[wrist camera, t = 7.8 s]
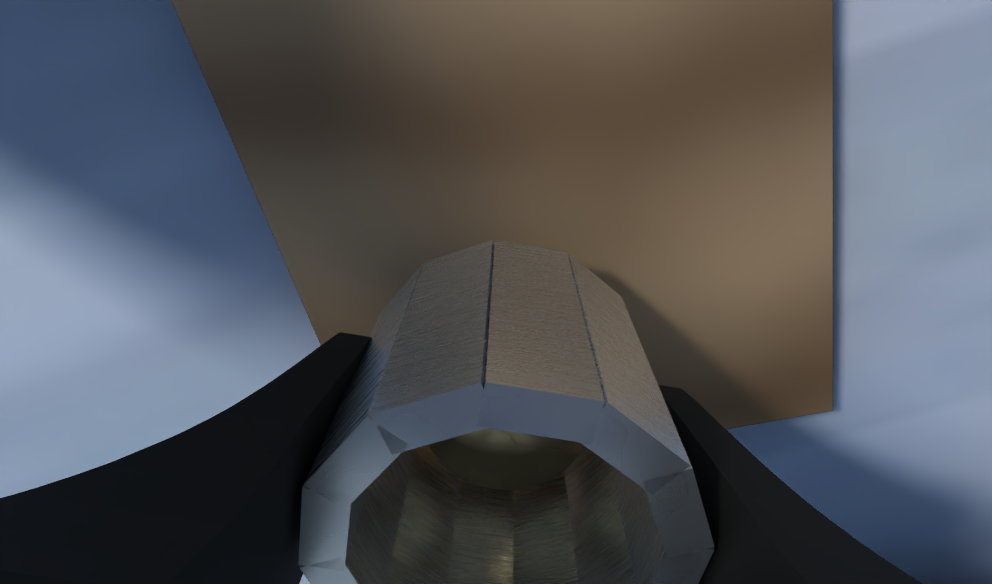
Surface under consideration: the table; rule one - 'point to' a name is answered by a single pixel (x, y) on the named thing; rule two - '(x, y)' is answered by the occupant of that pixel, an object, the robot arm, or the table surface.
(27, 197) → the table surface
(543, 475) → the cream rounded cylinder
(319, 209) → the walnut board
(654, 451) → the steel collar
